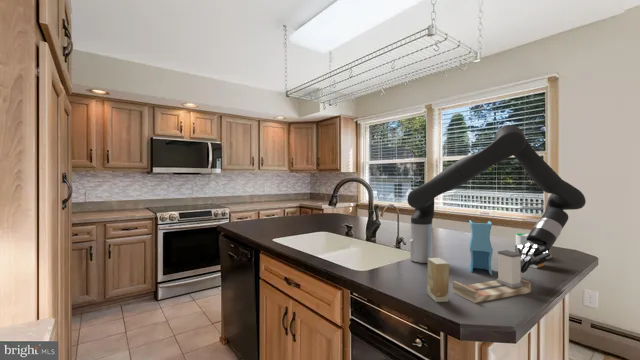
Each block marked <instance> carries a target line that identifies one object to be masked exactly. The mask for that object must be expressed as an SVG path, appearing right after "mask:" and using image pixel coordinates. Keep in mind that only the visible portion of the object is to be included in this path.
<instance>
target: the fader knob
mask: <svg viewBox="0 0 640 360" xmlns="http://www.w3.org/2000/svg"><path fill="white" fill-rule="evenodd" d="M497 254H498V258H497V261H498V262H497V264H498V266H497V267H498V268H497V269H498V271H497V272H498V273H497V274H498V277H497V278H495V280H496V282H498V283H501V284H503V285H506V286H508V287H511V288H514V287H520V286H523V283H522V282H521V279H522V277H521V275H522V274H521V254H519V253H516V252H515V251H511V250H508V249H507V250H505V249H504V250H499V251H497Z"/></svg>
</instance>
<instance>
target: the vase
mask: <svg viewBox="0 0 640 360" xmlns="http://www.w3.org/2000/svg"><path fill="white" fill-rule="evenodd" d="M468 222H469V226H470V232H471V233H470V239H469V243H468V247H469V253H470V262H469V263H470V264H469V267H468V268H469V272H470V273H473V271H474V270H473V269H481V270H482V269H483V270H487V271H488V273H489V275H491V276H493V271H492V257H493V251H494V249H493V247H492V243H491V237H490V236H491V230H492V226H493V223H492V222H491V221H490V220H488V221H487V222H486V223H481V222H480V223H479V222H472V220H470V219H469V220H468Z"/></svg>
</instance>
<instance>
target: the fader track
mask: <svg viewBox="0 0 640 360" xmlns="http://www.w3.org/2000/svg"><path fill="white" fill-rule="evenodd" d="M521 282H522V283H523V286H520V287H514V288H511V287H508V286H506V285H503V284H501V283H498V282H496V279H495V280H489V281H483V282H479V283H478V282H477V283H472V284H466V285H465V284H464V283H460V282H459V281H456V280H452V292H453V293H454V294H457V295H458V296H460V297H463V298H464V299H466V300H468V301H469V302H471V303H474V304H478V303H483V302H486V301H492V300H496V299H497V300H498V299H502V298H503V299H504V298H509V297H514V296H518V295H524V294H528V293H529V294H531V291H532V286H531V285H532V283H531V281H529V280H527V279H526V280H525V279H523V278H521Z"/></svg>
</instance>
